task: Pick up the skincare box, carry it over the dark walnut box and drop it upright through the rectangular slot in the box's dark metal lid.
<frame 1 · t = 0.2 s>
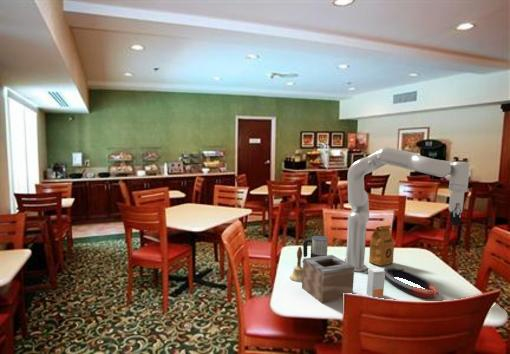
hand: (454, 223, 160), 31 cm above the table, tool pointing down, fingers open, 9 cm apart
dish: (408, 288, 160), on the table
slot box: (326, 292, 151), on the table
hand bell: (298, 278, 166), on the table
coffee package: (380, 263, 191), on the table
milk frother: (314, 265, 184), on the table
skincare box: (374, 295, 150), on the table
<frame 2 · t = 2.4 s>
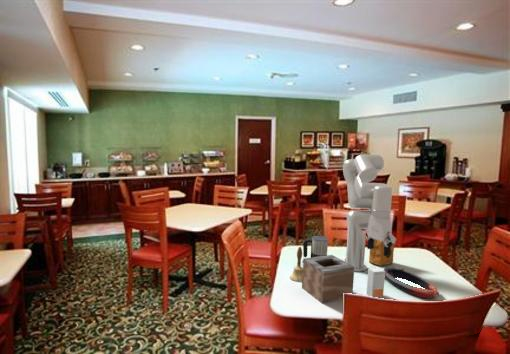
hand: (378, 251, 148), 20 cm above the table, tool pointing down, fingers open, 9 cm apart
nothing on the table moved.
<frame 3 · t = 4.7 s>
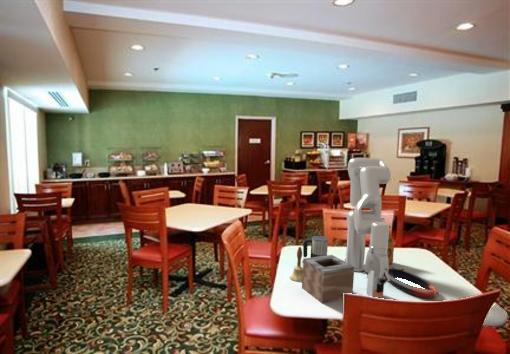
hand: (375, 289, 150), 3 cm above the table, tool pointing down, fingers closed on skincare box, 4 cm apart
skincare box: (374, 295, 150), on the table, touching gripper
everything else where it was.
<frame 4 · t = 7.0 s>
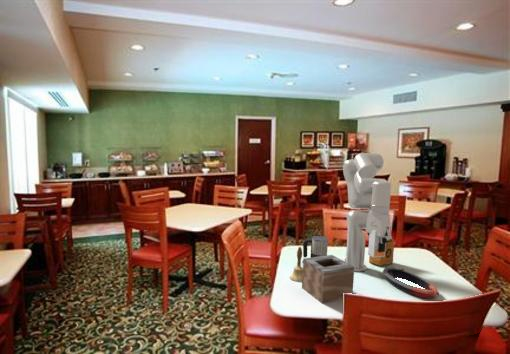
hand: (376, 249, 148), 21 cm above the table, tool pointing down, fingers closed on skincare box, 4 cm apart
skincare box: (376, 256, 148), point 18 cm above the table, touching gripper
everything else where it was.
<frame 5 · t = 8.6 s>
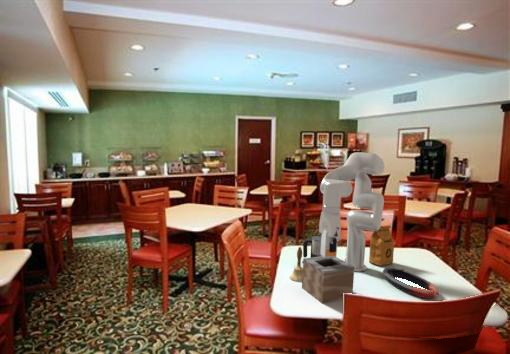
hand: (328, 249, 149), 20 cm above the table, tool pointing down, fingers closed on skincare box, 4 cm apart
skincare box: (328, 256, 149), point 17 cm above the table, touching gripper
everything else where it was.
when the fingers open (18 cm above the table, at t = 9.6 s): skincare box drops 15 cm, resting in slot box.
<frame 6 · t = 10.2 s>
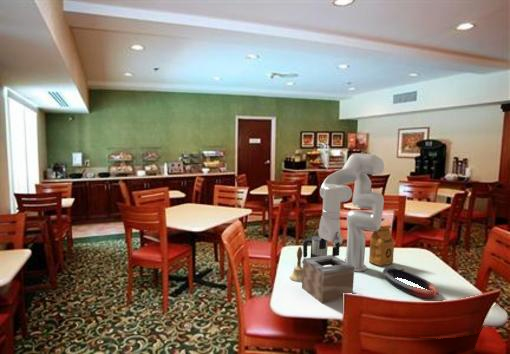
hand: (328, 252, 149), 19 cm above the table, tool pointing down, fingers open, 9 cm apart
skincare box: (326, 292, 152), resting in slot box
everything else where it was.
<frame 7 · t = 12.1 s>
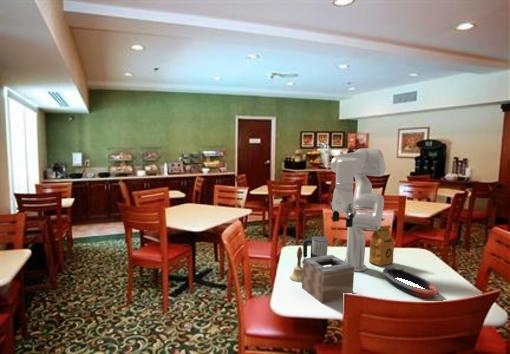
hand: (342, 224, 152), 31 cm above the table, tool pointing down, fingers open, 9 cm apart
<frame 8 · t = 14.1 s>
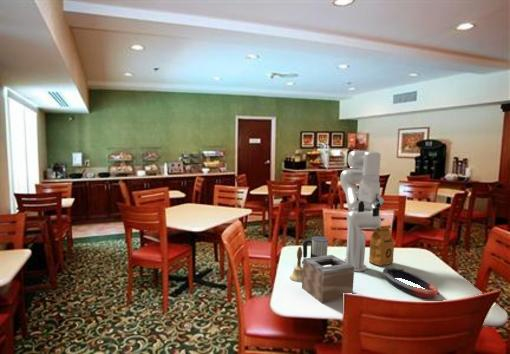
hand: (368, 214, 159), 34 cm above the table, tool pointing down, fingers open, 9 cm apart
at the end: skincare box inside the target area on the slot box (0.2 cm from its centre), point 0.0 cm above the slot box's base; the gripper is holding nothing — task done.
